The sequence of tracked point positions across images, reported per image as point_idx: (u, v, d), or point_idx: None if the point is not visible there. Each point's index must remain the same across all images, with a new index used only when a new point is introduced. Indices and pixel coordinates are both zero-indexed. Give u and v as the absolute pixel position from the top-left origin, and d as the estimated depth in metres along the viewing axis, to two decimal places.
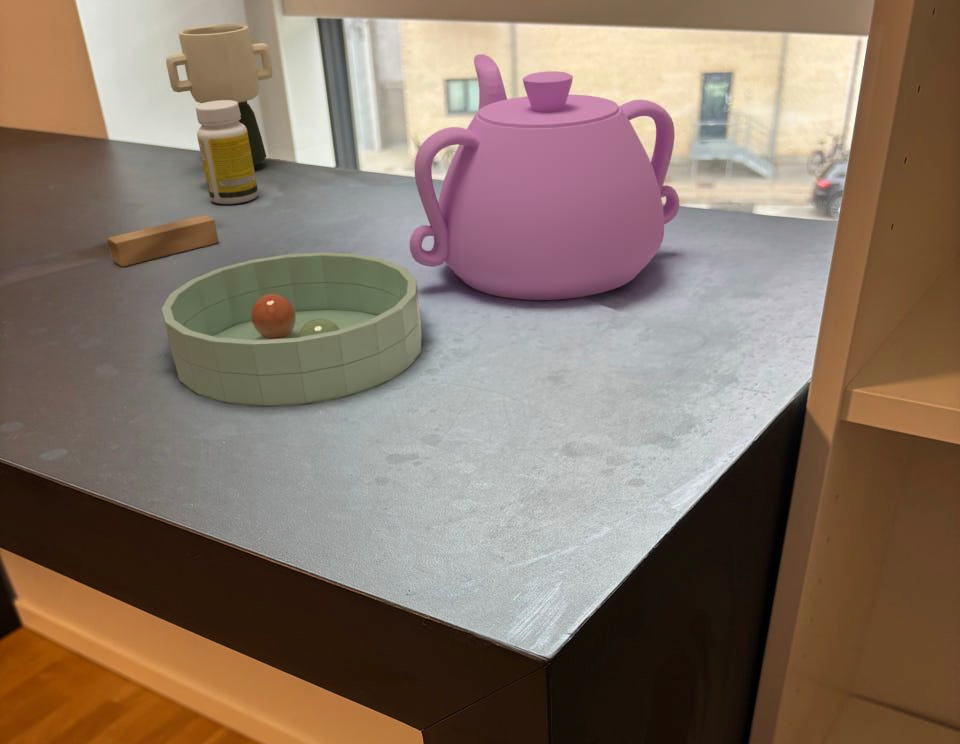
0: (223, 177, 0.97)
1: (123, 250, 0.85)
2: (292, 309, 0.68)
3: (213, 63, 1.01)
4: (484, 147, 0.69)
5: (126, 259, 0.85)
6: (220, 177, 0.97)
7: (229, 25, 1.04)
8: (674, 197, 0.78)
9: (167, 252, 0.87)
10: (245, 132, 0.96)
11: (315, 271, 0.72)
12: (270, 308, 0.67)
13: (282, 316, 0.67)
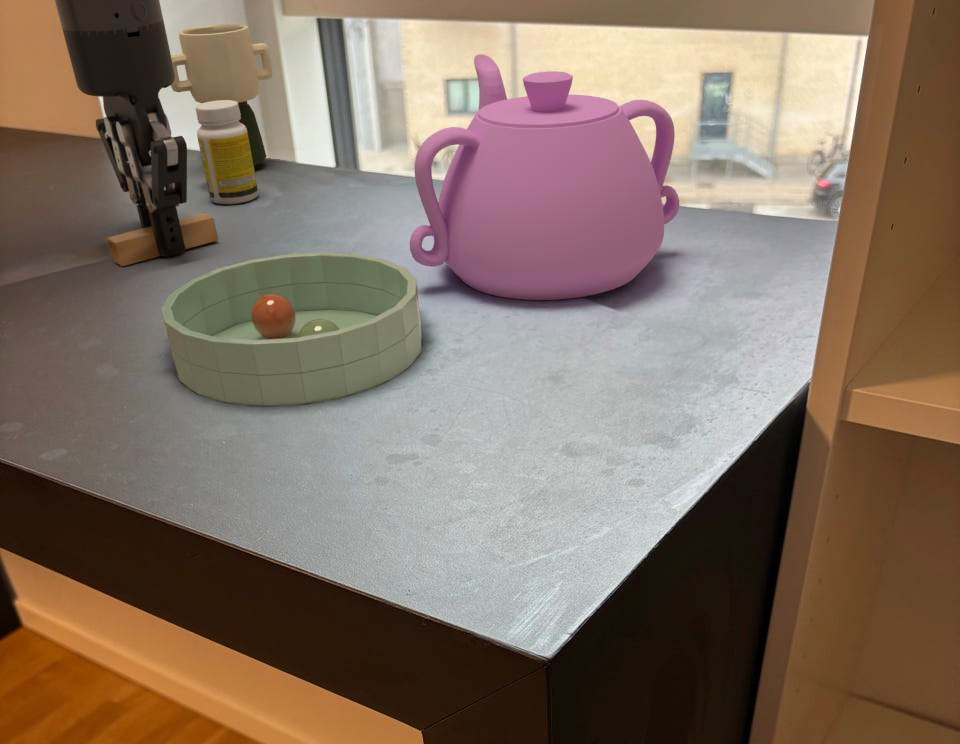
0: (223, 177, 0.97)
1: (123, 250, 0.85)
2: (292, 309, 0.68)
3: (213, 63, 1.01)
4: (484, 147, 0.69)
5: (126, 258, 0.85)
6: (220, 177, 0.97)
7: (229, 25, 1.04)
8: (674, 197, 0.78)
9: None
10: (245, 132, 0.96)
11: (315, 271, 0.72)
12: (270, 308, 0.67)
13: (282, 316, 0.67)
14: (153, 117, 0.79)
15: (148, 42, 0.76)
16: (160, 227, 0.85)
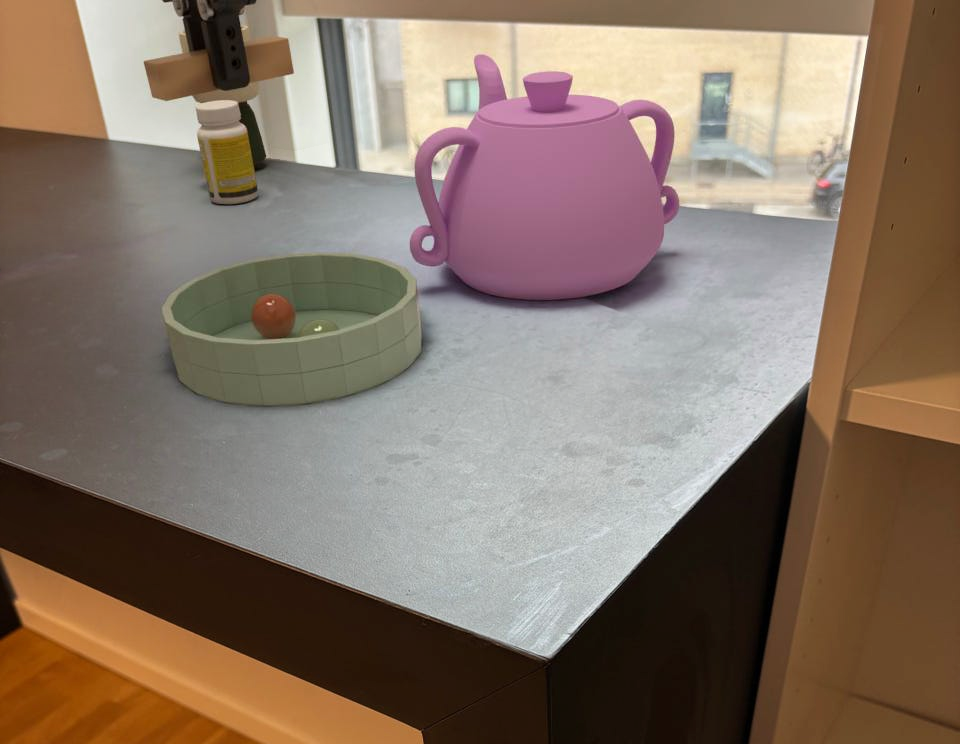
0: (223, 177, 0.97)
1: (167, 76, 0.60)
2: (292, 309, 0.68)
3: None
4: (484, 147, 0.69)
5: (171, 89, 0.61)
6: (220, 177, 0.97)
7: None
8: (674, 197, 0.78)
9: None
10: (245, 132, 0.96)
11: (315, 271, 0.72)
12: (270, 308, 0.67)
13: (282, 316, 0.67)
14: None
15: None
16: (217, 44, 0.61)
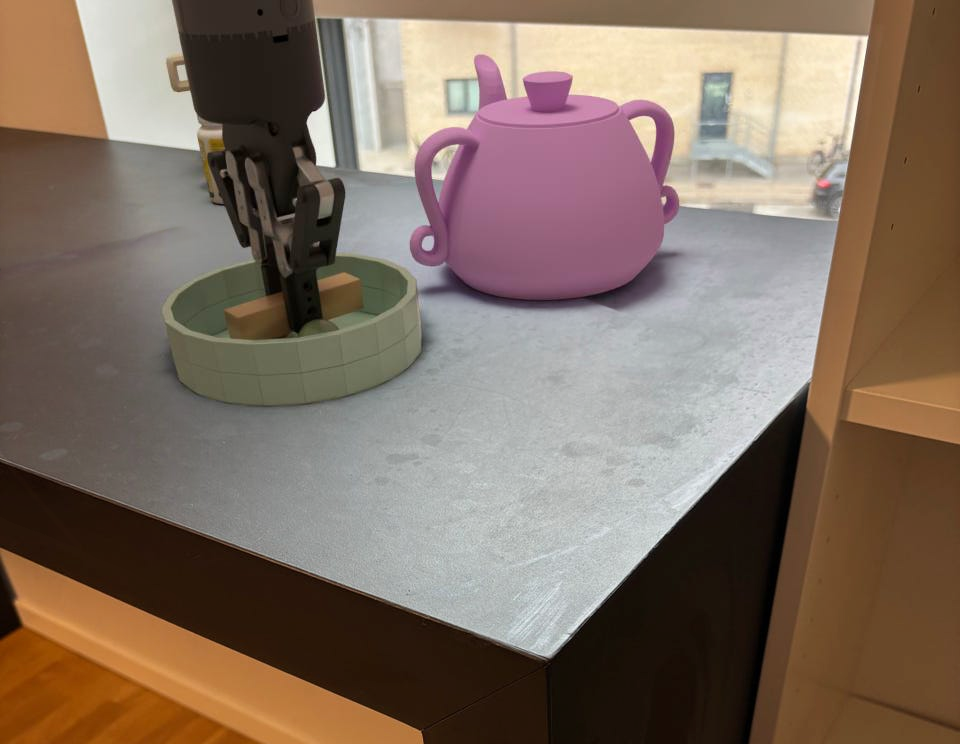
0: None
1: (247, 326, 0.63)
2: None
3: None
4: (484, 147, 0.69)
5: (250, 337, 0.64)
6: None
7: None
8: (674, 197, 0.78)
9: None
10: None
11: None
12: None
13: None
14: (299, 152, 0.57)
15: (299, 49, 0.55)
16: (294, 296, 0.63)
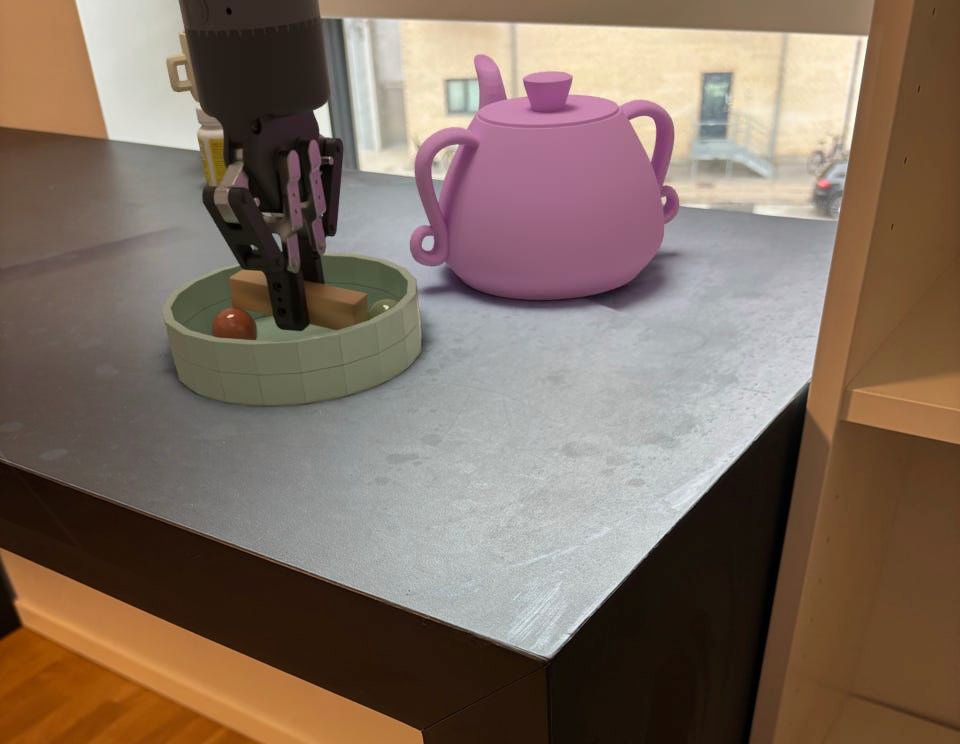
0: None
1: None
2: (228, 335, 0.66)
3: None
4: (484, 147, 0.69)
5: None
6: (220, 177, 0.97)
7: None
8: (674, 197, 0.78)
9: None
10: None
11: None
12: None
13: None
14: None
15: None
16: None
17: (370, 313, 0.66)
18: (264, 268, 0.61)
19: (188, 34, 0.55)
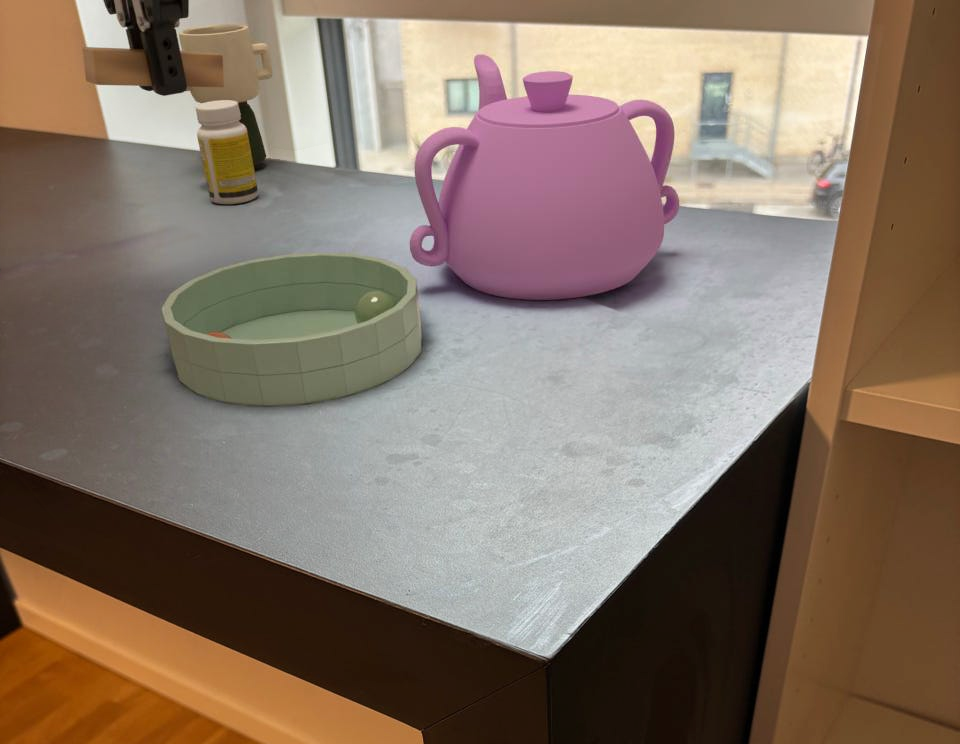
0: (223, 177, 0.97)
1: None
2: None
3: None
4: (484, 147, 0.69)
5: None
6: (220, 177, 0.97)
7: (229, 25, 1.04)
8: (674, 197, 0.78)
9: None
10: (245, 132, 0.96)
11: (315, 271, 0.72)
12: None
13: None
14: None
15: None
16: None
17: None
18: (177, 14, 0.64)
19: None
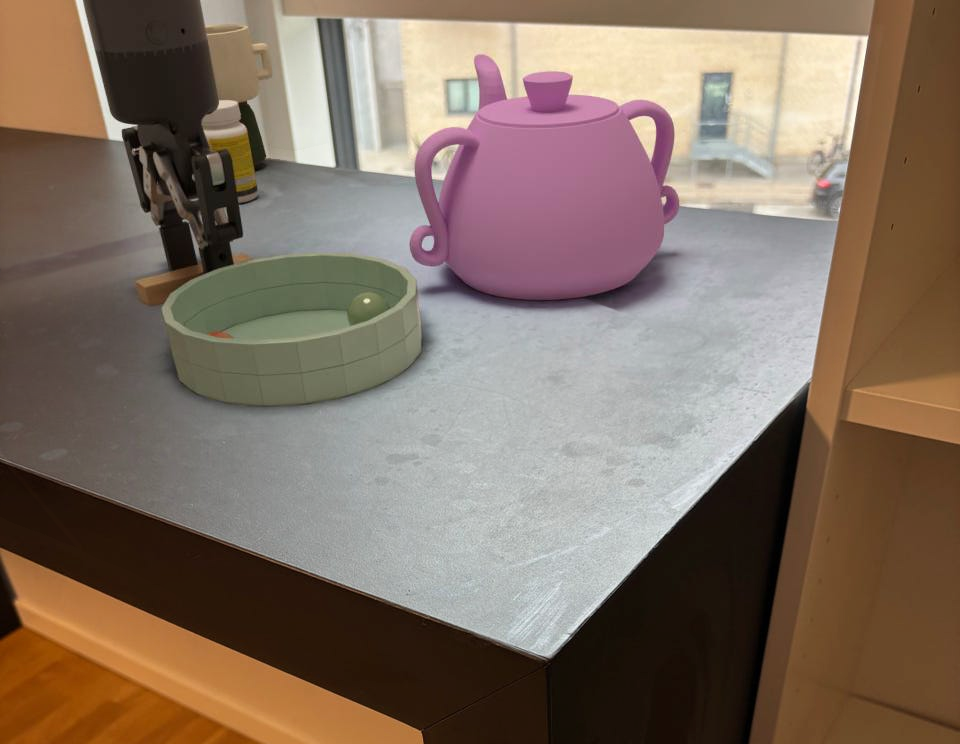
0: None
1: None
2: None
3: (213, 63, 1.01)
4: (484, 147, 0.69)
5: None
6: None
7: (229, 25, 1.04)
8: (674, 197, 0.78)
9: None
10: (245, 132, 0.96)
11: (315, 271, 0.72)
12: None
13: None
14: None
15: None
16: None
17: None
18: (233, 236, 0.72)
19: (136, 56, 0.66)
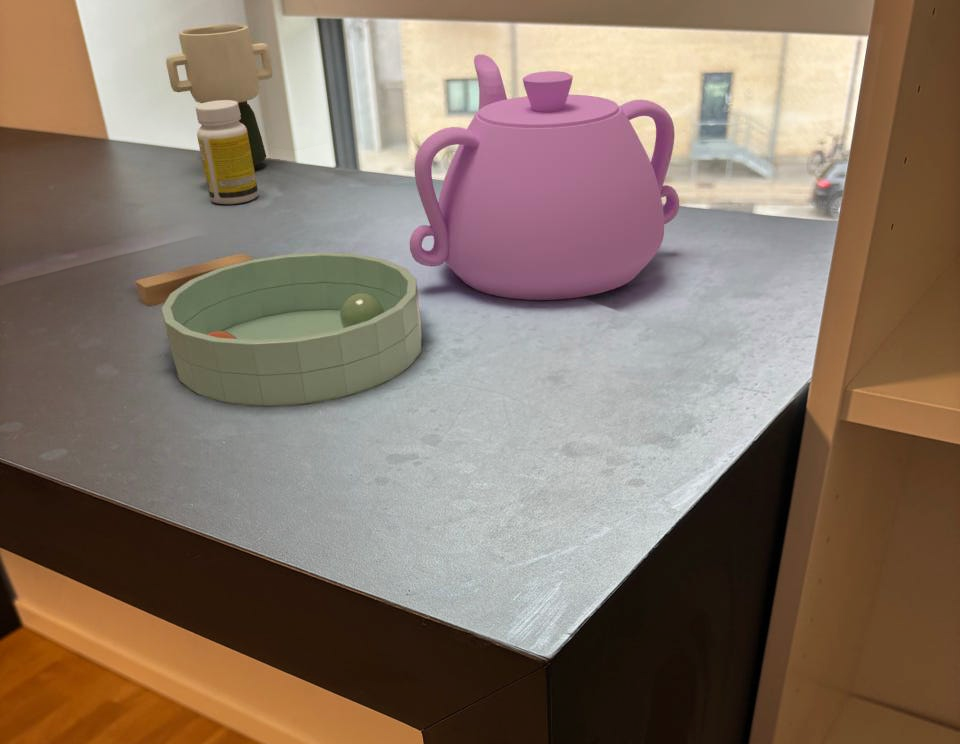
0: (223, 177, 0.97)
1: None
2: None
3: (213, 63, 1.01)
4: (484, 147, 0.69)
5: None
6: (220, 177, 0.97)
7: (229, 25, 1.04)
8: (674, 197, 0.78)
9: None
10: (245, 132, 0.96)
11: (315, 271, 0.72)
12: None
13: None
14: None
15: None
16: None
17: None
18: None
19: None
